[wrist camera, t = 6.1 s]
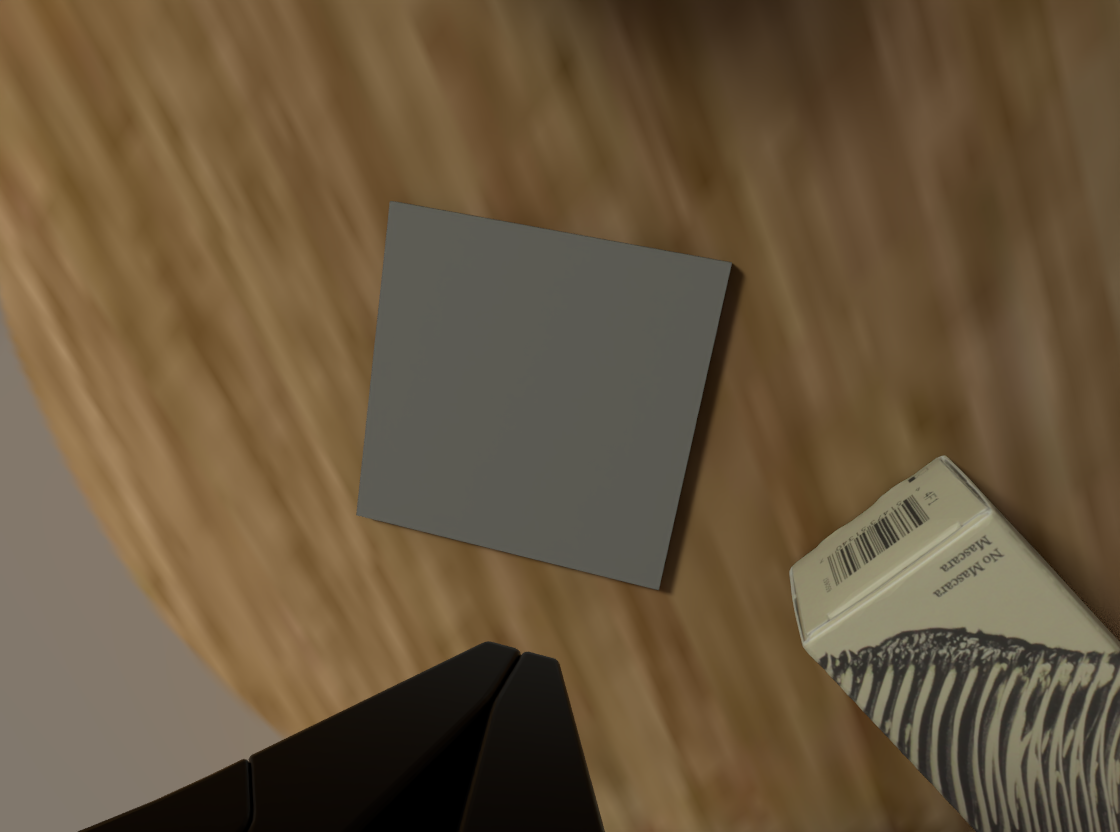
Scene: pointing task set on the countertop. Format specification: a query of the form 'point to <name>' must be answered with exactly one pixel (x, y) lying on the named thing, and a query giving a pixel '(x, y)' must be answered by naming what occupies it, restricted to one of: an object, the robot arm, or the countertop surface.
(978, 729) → the box
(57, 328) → the countertop surface
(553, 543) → the mat
